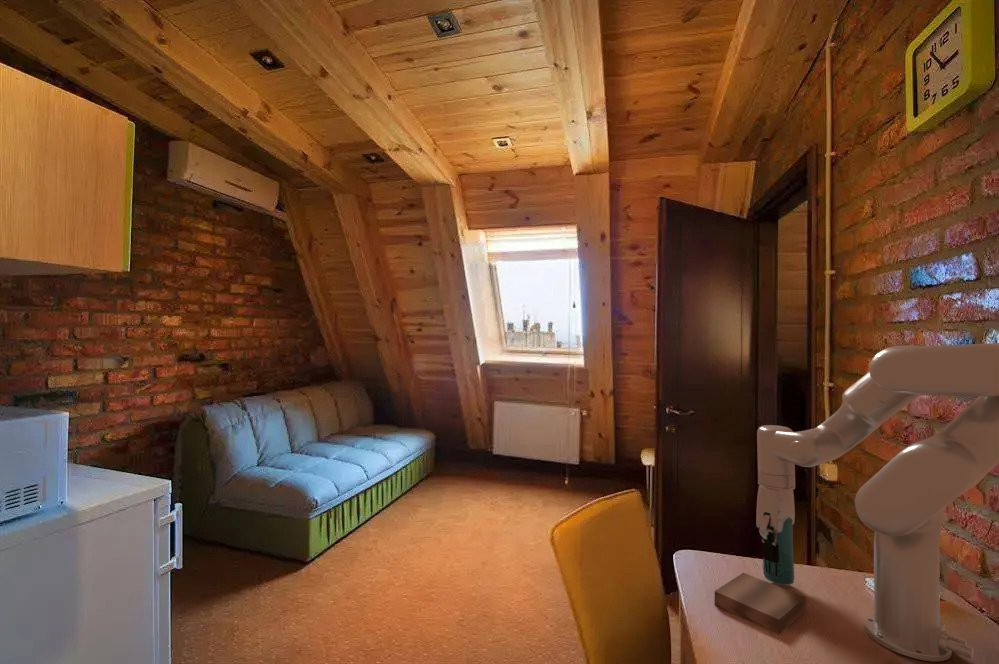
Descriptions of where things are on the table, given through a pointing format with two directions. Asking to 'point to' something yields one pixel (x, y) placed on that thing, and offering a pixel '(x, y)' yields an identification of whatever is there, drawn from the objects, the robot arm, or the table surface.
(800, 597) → the walnut plinth
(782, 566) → the beverage bottle
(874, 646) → the table surface
